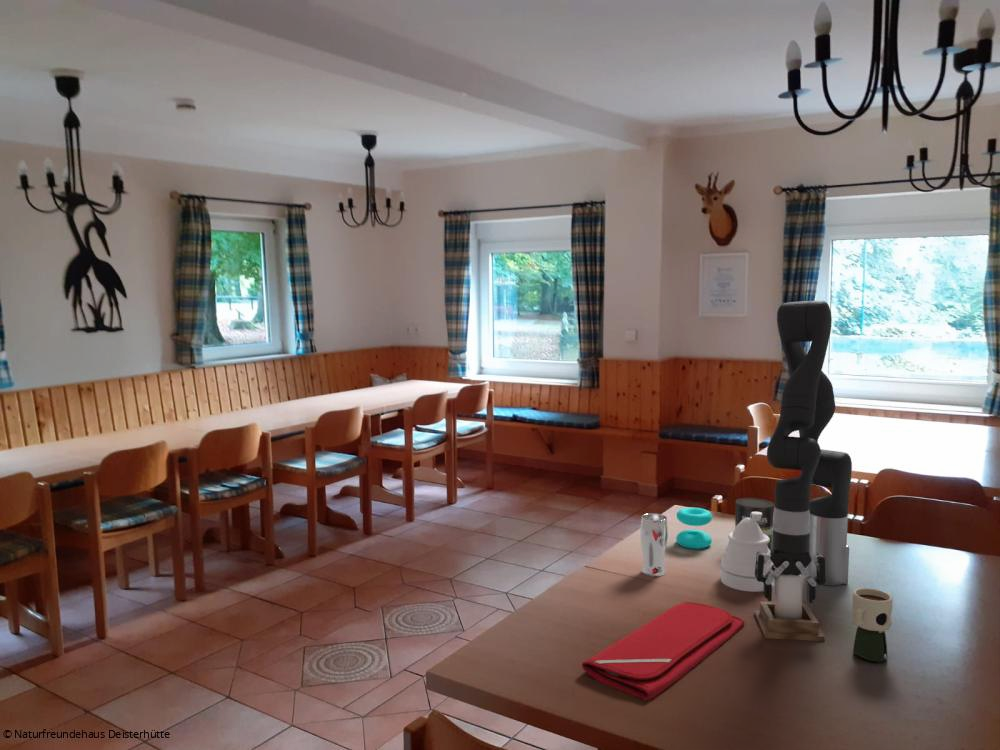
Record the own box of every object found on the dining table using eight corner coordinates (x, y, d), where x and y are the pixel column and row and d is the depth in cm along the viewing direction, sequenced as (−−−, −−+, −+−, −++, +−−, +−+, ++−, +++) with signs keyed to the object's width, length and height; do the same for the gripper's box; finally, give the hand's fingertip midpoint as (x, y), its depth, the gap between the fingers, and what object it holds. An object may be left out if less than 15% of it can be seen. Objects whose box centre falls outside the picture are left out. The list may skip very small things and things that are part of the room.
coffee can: (773, 558, 207) (774, 508, 206) (734, 555, 210) (735, 506, 209) (771, 546, 217) (772, 498, 216) (734, 543, 220) (735, 496, 219)
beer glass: (669, 577, 195) (670, 520, 193) (642, 577, 195) (643, 520, 193) (664, 567, 202) (665, 513, 200) (638, 567, 202) (638, 513, 200)
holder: (809, 617, 170) (809, 602, 170) (824, 641, 158) (825, 625, 158) (754, 614, 172) (754, 599, 171) (765, 638, 160) (765, 622, 159)
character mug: (873, 672, 145) (876, 607, 144) (838, 658, 151) (840, 595, 150) (901, 655, 152) (904, 593, 150) (866, 642, 157) (869, 582, 156)
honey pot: (766, 573, 197) (768, 506, 195) (780, 592, 184) (782, 521, 182) (716, 572, 198) (717, 505, 196) (726, 591, 185) (727, 519, 183)
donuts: (671, 512, 217) (683, 504, 226) (671, 546, 218) (682, 536, 227) (706, 517, 212) (716, 509, 221) (705, 552, 213) (715, 542, 222)
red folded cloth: (746, 628, 166) (746, 612, 166) (651, 705, 135) (651, 685, 135) (681, 609, 176) (681, 594, 176) (579, 676, 146) (579, 658, 145)
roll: (797, 615, 168) (797, 567, 166) (805, 627, 162) (806, 577, 161) (771, 615, 168) (771, 568, 167) (778, 627, 163) (779, 578, 161)
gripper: (820, 523, 165) (818, 595, 167) (753, 521, 167) (751, 592, 169) (831, 534, 158) (828, 609, 160) (760, 532, 160) (758, 606, 162)
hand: (788, 600), depth 164 cm, fingers open, 8 cm apart
